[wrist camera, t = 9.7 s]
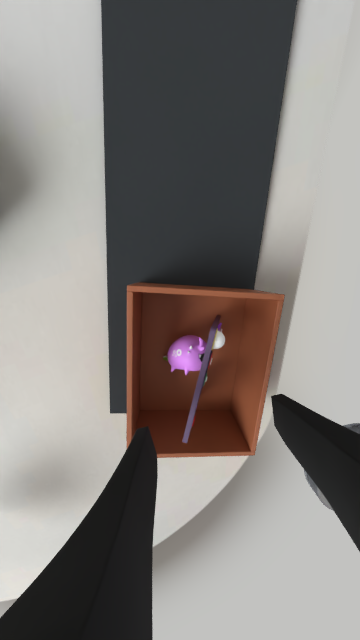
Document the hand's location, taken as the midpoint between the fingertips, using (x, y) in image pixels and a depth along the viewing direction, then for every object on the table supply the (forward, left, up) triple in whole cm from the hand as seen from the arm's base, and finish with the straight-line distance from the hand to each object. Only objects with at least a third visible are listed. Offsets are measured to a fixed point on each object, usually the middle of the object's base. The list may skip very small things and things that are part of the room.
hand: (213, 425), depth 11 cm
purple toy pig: (0, -1, -9) cm, 9 cm away
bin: (0, 0, -10) cm, 10 cm away
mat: (-3, -17, -10) cm, 20 cm away
